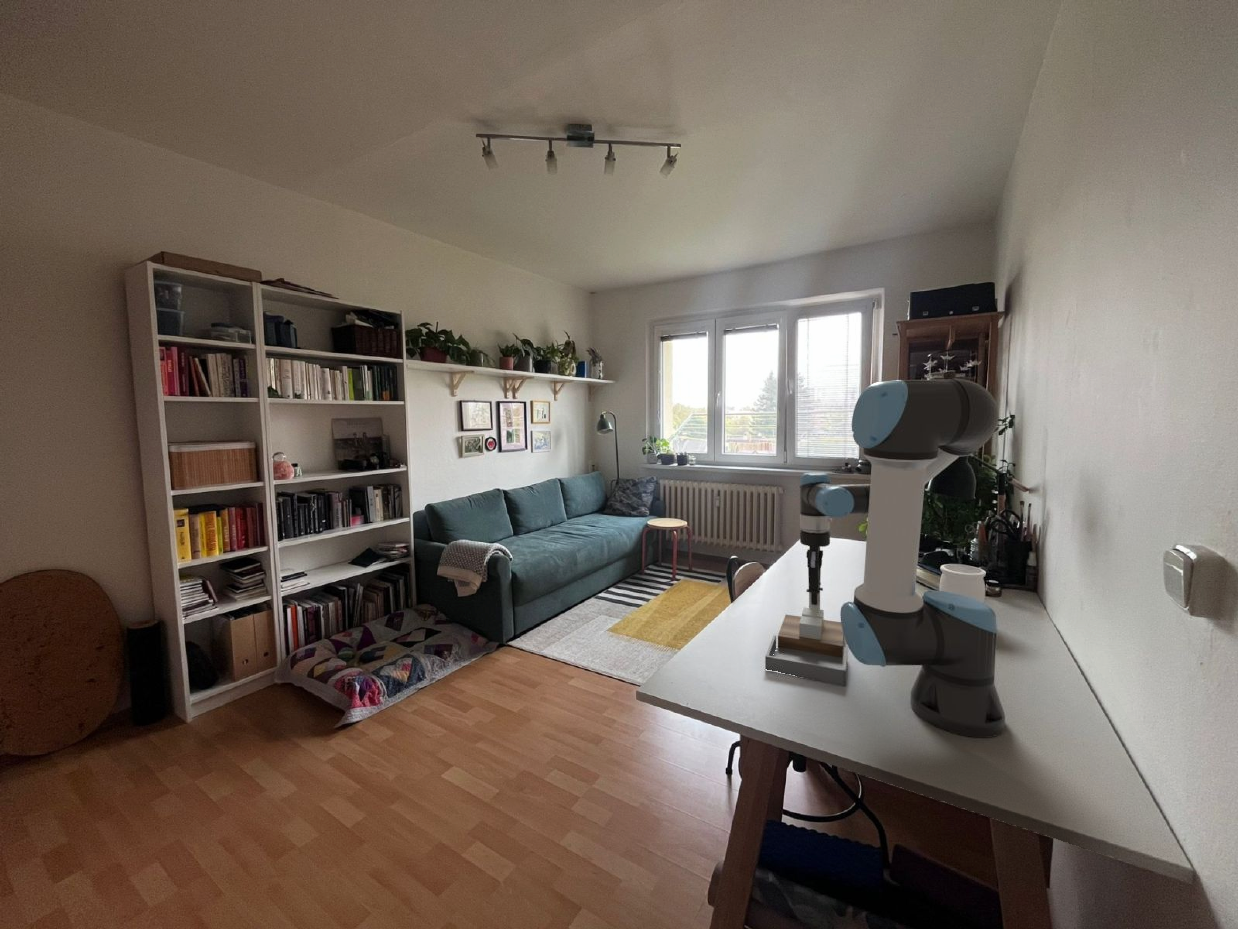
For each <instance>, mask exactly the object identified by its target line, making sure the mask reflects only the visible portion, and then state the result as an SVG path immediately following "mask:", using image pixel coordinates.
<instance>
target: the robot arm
mask: <svg viewBox="0 0 1238 929" xmlns="http://www.w3.org/2000/svg"><path fill="white" fill-rule="evenodd" d="M999 416H1000V415H999V408H998V404H997V402H996V400H995V398H994V397H993V395H992V394H991V393H990V392H989V390H987V389H986V388H985V387H983V386H982V385H981V384H979V383H976V382H975V381H971V380H969V379H961V378H947V379H908V380H907V379H906V380H905V379H904V380H903V379H902V380H901V379H896V380H887V381H878V382H874V383H872V384H870V385H868V386H867V387H866V388H865V389H863V391H862V393H861V394H860V395H859V396H858V398H857V401H856V403H855V406H854V409H853V412H852V416H851V431H852V432H853V434H852V438H853V440H854V442H855V444H856V445H858V446H859V447H862V448H863V451H862V452H863V456H864V457H865V458H866V459H867V460H868V461H869V462H870V465H871V470H870V471H871V472H870V483H861V484H860V483H856V484H850V483H849V484H832V482H831V475H830V474H829V473H825V472H805V473H802V474H801V475H800V479H799V480H800V482H799V497H800V498H799V502H800V503H799V506H800V508H799V510H800V513H799V528H800V531H799V542H800V544H801V545H803V546H808V547H809V548H808V549H807V551H806V559H807V560H806V561H807V569H808V570H807V571H808V573H807V574H808V588H807V589H806V593H808V608H812V609H820V610H821V591H822V592H823V590H824V588H823V587H821V585H822V583H821V573H822V572H821V571H822V569H821V568H822V565H823V556H824V550H822V549H821V548H823V547H824V548H825V547H828V546H830V544H831V532H830V529H831V524H830V523H832V522H833V518H836V519H839V518H845V517H846V516H848V515H849V516H850V515H851V516H853V515H868V516H867V528H866V529H867V530H866V531H867V532H866V545H865V546H866V547H865V559H864V570H863V571H864V573H863V582H862V583H861V584H860V585H858V586H856V587H855V589H854V593H853V602H852V601H847V602H844V603H843V604H842V606H841V607H840V608H841V609H840V622H841V625H842V630H843V633H844V640H845V641H846V642H845V643H846V644H847V648H848V649H849V651H850V652H851V654H852V655H853V657H854V658H855V659H856V660H857V661H858V662H859V663H861V664H863V665H865V666H880V667H882V668H883V667H887V666H889V667H890V666H921V667H920V670H919V672H918V675H917V677H916V679H915V681H914V683H913V685H912V688H911V690H910V707H911V708H912V709H913V711H914V712H915V714H916V715H917V716H919V717H920V718H921V719H922V720H924V721H926V722H927V723H929V724H931V725H933V726H935V727H937V728H940V729H942V730H944V731H947V732H950V733H953V734H956V735H961V736H967V737H972V738H992V737H996V736H998V735H1000V734H1002V733H1003V732H1004V730H1005V727H1006V726H1005V725H1006V716H1005V715H1006V714H1005V710H1004V708H1003V705H1002V702H1001V700H1000V697H999V696H1000V695H999V694H998V691H997V688H996V685H995V684H996V683H995V673H996V672H995V671H996V649H997V648H996V646H997V634H998V631H999V630H998V626H997V615H996V613H995V610H994V609H993V608H992V607H990V606H989V605H988V604H986V603H985V602H984V603H983V602H980V601H978V600H976V599H973V598H970V597H967V596H963V595H960V594H955V593H951V592H945V591H940V590H934V589H932V590H927V591H925V592H923V594H922V596H920V595H919V594H918V593H917V592H916V585H917V573H918V563H919V562H918V561H919V553H920V552H919V550H920V539H921V531H922V518H923V516H922V515H923V506H924V497H925V496H924V495H925V486H926V484H928V483H929V482H930V481H931V480H933V479H934V478H935V477H936V476H938V475H939V474H940V473H941V472H942V471H944V470H945V469H946V468H948V467H949V466H950V465H951V464H952V463H953V462H955V461H956V460H958V459H959V457H968V456H970V455H972V454H973V453H975V452H977V451H978V450H979V449H980V448H982V447H983V446H984V445H985V444H986V443H987V442H988V441H989V440H990V439H991V437H992V436H993V434H994V433H995V432H996V429H997V426H998V425H999V424H998V423H999V418H1000V417H999Z"/></svg>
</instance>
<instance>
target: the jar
mask: <svg viewBox="0 0 1238 929" xmlns="http://www.w3.org/2000/svg"><path fill="white" fill-rule="evenodd" d="M939 569H940V571H941V572H942V574H940V579H939V580H940V581H939V591H945V592H951V593H955V594H960V595H963V596H967V597H970V598H973V599H976V600H978V601H980V602H983V603H984V604H985V598H986V585H985V579H984V577H986V573H987V572H986V571H985V570H984V569H982V568H979V567H975V566H971V565H967V564H959V563H948V564H942V565H940V568H939Z"/></svg>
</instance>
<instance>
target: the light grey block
mask: <svg viewBox="0 0 1238 929" xmlns="http://www.w3.org/2000/svg"><path fill="white" fill-rule="evenodd" d="M800 617H801V619H800V623H799V637H805V638H811V639H818V640H821V635H822V619H819V618H812V617H805V616H802V615H801V616H800Z"/></svg>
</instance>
